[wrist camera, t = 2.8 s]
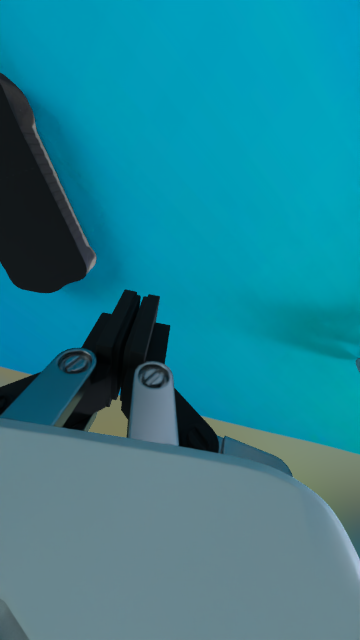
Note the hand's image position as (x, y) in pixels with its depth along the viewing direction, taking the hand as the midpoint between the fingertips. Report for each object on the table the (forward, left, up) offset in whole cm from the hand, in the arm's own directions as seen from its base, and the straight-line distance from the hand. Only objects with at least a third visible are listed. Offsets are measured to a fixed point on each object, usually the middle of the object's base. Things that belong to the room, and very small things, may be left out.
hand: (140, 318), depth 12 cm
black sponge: (0, -13, -15) cm, 20 cm away
